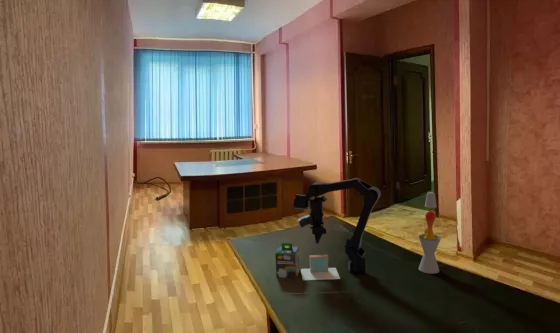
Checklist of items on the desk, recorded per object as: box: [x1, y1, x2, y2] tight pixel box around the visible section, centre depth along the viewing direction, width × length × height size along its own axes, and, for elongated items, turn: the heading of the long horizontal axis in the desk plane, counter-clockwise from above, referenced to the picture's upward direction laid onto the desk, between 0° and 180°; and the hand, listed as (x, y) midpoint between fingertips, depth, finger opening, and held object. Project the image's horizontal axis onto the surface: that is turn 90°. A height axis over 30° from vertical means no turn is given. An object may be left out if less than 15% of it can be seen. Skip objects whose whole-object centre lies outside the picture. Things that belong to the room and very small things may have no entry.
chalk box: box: [274, 242, 301, 279], centre depth 167 cm, size 9×9×15 cm
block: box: [309, 254, 329, 272], centre depth 169 cm, size 8×3×7 cm, turn 91°
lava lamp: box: [418, 191, 441, 275], centre depth 167 cm, size 9×9×35 cm
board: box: [300, 267, 341, 281], centre depth 167 cm, size 16×12×1 cm
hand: (317, 243), depth 174 cm, fingers closed
